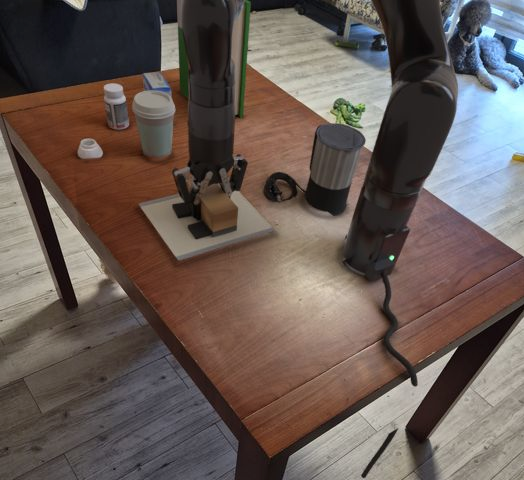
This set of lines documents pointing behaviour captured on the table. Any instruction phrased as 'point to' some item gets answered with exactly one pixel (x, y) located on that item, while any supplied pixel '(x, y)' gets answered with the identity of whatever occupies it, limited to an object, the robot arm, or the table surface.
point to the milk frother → (326, 169)
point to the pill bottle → (116, 106)
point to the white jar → (89, 149)
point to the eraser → (217, 210)
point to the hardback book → (238, 55)
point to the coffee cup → (154, 122)
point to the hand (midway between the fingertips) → (210, 213)
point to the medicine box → (156, 83)
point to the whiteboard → (177, 228)
